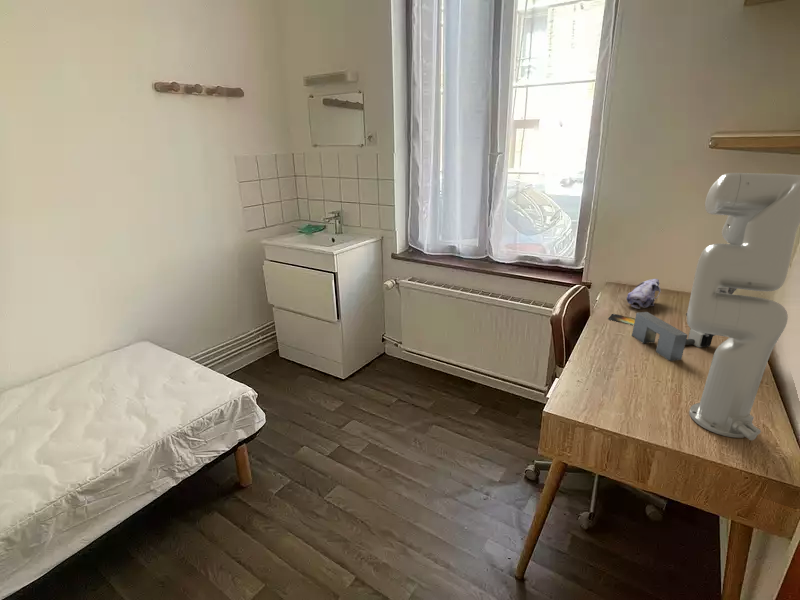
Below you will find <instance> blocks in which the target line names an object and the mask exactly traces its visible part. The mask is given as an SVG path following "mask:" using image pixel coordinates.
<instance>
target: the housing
mask: <svg viewBox="0 0 800 600" xmlns="http://www.w3.org/2000/svg"><path fill="white" fill-rule="evenodd" d="M634 318H635V323H634V326H633V327H632V328H633V329H632V332H631V336H632V337H633V336H634V337H633V338H635V339H636V340H637V341H639V342H640V343H642V344H653V343H655V341H656V338H657V334H658V335H659V337H658V339H659V340H658V339H657V342H658V344H657V343H656V349H655V353H657V354H659V355H660V356H661V357H663V358H664V359H666V360H667V361H669V362H670V361H671V362H672V361H681V360H682V358H683V355H684V354H683V353H684V350H685V347H686V345H685V343H686V339H688V334H687V333H685V332H683V331H682V330H680V329H679V328H677V327H675V326H673V325H671V324H669V323H667V322H666V321H664V320H662V319H660V318H659V317H657V316H655V315H653V314H652V313H650V312H648V311H642V312H639V311H638V312H636V314H635V317H634Z"/></svg>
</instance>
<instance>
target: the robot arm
mask: <svg viewBox="0 0 800 600" xmlns="http://www.w3.org/2000/svg"><path fill="white" fill-rule="evenodd" d="M704 209H705V211H706V213H708V214H709V215H716V216H727V218H726V220H725V223H724V224H723V226H722V229H721V236H722V238H723V240H725V242H726V243H713V244H709V245H708V246H706V247H705V248H704V249H703V250H702V251H701V254H700V256H699V258H698V261H697V263H696V264H697V265H696V269H695V272H694V278H693V283H692V288H691V292H690V297H689V302H688V307H687V312H686V313H685V316H686V323H687V325H688V327H689V328H690V329H692V330H694V331H697V332H701V333H705V335H703V337H702V341H701V345H700V346H701V347H700V348H704V347H705V348H707V346H709V347H711V345H712V340H713V337H715V336H719V337H725V338H726V337H727V339H726V340H724V341H722V342H721V344H719V345H718V346H717V347H716V349H715V350H714V353H713V356H712V359H711V364H710V366H709V370H708V374H707V378H706V380H705V383H704V387H703V391H702V395H701V398H700V400H699V402H697V403H694V404H692V405H691V407H690V408H689V412H688V413H689V416H690V418H691V420H692V421H694V422H695V423H696V424H697V425H699V426H700V427H702V428H704V429H706V430H707V431H710V432H712V433H714V434H717V435H720V436H723V437H728V438H736V439H737V438H738V439H740V438H741V439H743V438H746V439H748V440H749V441H754V440H755V439H756V438H757V437H758V435H760V434H761V433H762V431H761V429H759V428H758V427H756V426H755V425H754V423H753V420H754V416H753V415H752V414H751V411H752V408H753V405H754V403H755V399H756V396H757V393H758V390H759V388H760V385H761V382H762V379H763V377H764V374H765V370H766V367H767V364H768V363H769V362H768V361H769V359H770V356H771V354H772V351H773V350H774V347H775V346H776V344H777V342H778V340H779V339H780V338H781V335H782V334H783V333H784V331H785V328H786V327H787V324H788V318H789V317H788V312H787V309H786V308H785V307H784V305H782V304H780V303H779V302H778V301H774V300H772V299H768V298H763V297H758V296H751V295H742V294H741V295H740V294H734V293H733V294H729V293H728V289H729V288H737V289H738V290H747V291H752V292H754V291H756V292H774V291H778V290H779V289H780V288H781V287H782V286H784V284H785V282H786V279H787V276H788V272H789V267H790V264H791V260H792V259H791V258H792V254H793V249H794V245H795V244H794V243H795V240H796V235H797V231H798V228H799V226H800V174H788V173H753V172H752V173H751V172H749V173H748V172H744V173H743V172H728V173H723V174H722V175H721V176H719V178H717V180H715V182H713V184H712V185H711V186H710V188H709V190H708V192H707V194H706V197H705V203H704ZM737 289H736V290H737Z"/></svg>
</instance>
